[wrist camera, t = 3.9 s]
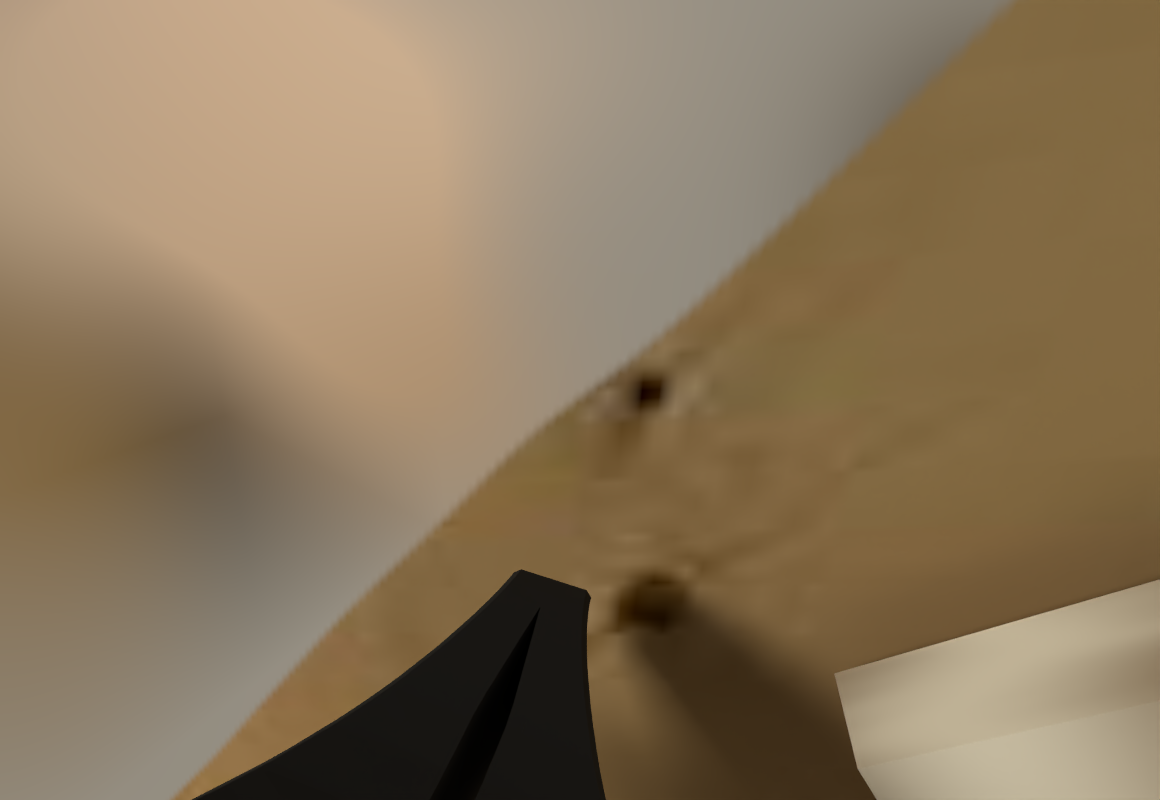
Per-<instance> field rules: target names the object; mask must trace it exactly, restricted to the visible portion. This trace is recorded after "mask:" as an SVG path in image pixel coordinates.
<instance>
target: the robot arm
mask: <svg viewBox="0 0 1160 800" xmlns="http://www.w3.org/2000/svg"><path fill="white" fill-rule="evenodd" d="M590 600H591V597H590V595H589V593H588V592H587V590H584V589H581V588H578V587H575V586H572V585H568V584H565V583H562V582H559V581H556V580H553V579H550V578H547V577H543V576H540V575H537V574H534V573H531V572H528V571H525V570H522V569H521V570H519V571H517V572H514V573H513V574H512V576H511V577H510V578H509V579H508V580H507V581H506V583H505V584H504V585H503V586H502V587H501V588H500V589H499V590H498V591H497V592H496V593H495V594H494V595H493V596H492V597H491V598H490V599H489V600H488V601H487V602H486V603H485V604H484V605H483V606H482V607H481V608H480V609H479V610H478V611H477V612H476V613H475V614H474V615H473V616H472V617H470V618H469V619H468V620H467V621H466V622H465V623H464V624H463V625H461V626H460V627H459V628H458V629H457V630H456V631H455V632H454V633H452V634H451V635H450V636H449V637H448V638H447V639H446V640H444V641H443V642H442V643H441V644H440V645H439V646H437V647H436V648H435V649H434V650H432V651H431V652H430V653H429V654H427V655H426V656H425V657H423V658H422V659H421V660H420V661H418V662H417V663H416V664H415V665H413V666H412V667H411V668H409V669H408V670H407V671H406V672H404V673H403V674H402V675H401V676H399V677H398V678H397V679H395V680H394V681H392V682H391V683H390V684H388V685H387V686H386V687H384V688H383V689H381V690H380V691H379V692H377V693H376V694H374V695H373V696H371V697H370V698H369V699H367V700H366V701H364V702H363V703H361V704H360V705H358V706H357V707H355V708H354V709H352V710H351V711H349V712H348V713H346V714H345V715H343V716H341V717H340V718H338V719H337V720H335V721H334V722H332V723H330V724H329V725H327V726H325V727H324V728H322V729H320V730H319V731H317V732H315V733H314V734H312V735H311V736H309V737H307V738H306V739H304V740H302V741H301V742H299V743H297V744H296V745H294V746H292V747H291V748H289V749H287V750H285V751H284V752H282V753H280V754H278V755H277V756H275V757H273V758H271V759H269V760H268V761H266V762H264V763H262V764H260V765H258V766H256V767H254V768H252V769H251V770H249V771H247V772H245V773H243V774H241V775H239V776H237V777H235V778H233V779H231V780H229V781H227V782H225V783H223V784H221V785H219V786H217V787H216V788H214V789H212V790H210V791H208V792H206V793H204V794H202V795H200V796H198V797H196V798H194V799H192V800H606V799H605V794H604V789H603V784H602V779H601V773H600V768H599V762H598V756H597V750H596V743H595V736H594V729H593V722H592V714H591V705H590V694H589V682H588V669H587V619H588V610H589V604H590Z"/></svg>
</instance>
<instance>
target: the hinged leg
mask: <svg viewBox="0 0 1160 800" xmlns="http://www.w3.org/2000/svg"><path fill="white" fill-rule="evenodd" d="M834 674H835V678H836V682H837V686H838V690H839V695H840V699H841V703H842V707H843V711H844V715H845V719H846V723H847V727H848V731H849V736H850V740H851V744H852V748H853V752H854V756H855V760H856V764H857V768H858V770H859V772H860V774H861V775H862V777H863V778H864V780H865V782H866V783H867V785H868V786H869V788H870V790H871V791H872V793H873V794H874V796H875V798H876V799H877V800H1160V580H1156V581H1153V582H1149V583H1146V584H1142V585H1139V586H1135V587H1132V588H1129V589H1125V590H1122V591H1118V592H1115V593H1111V594H1108V595H1104V596H1101V597H1097V598H1094V599H1090V600H1087V601H1084V602H1080V603H1077V604H1073V605H1070V606H1066V607H1063V608H1059V609H1056V610H1052V611H1049V612H1045V613H1042V614H1039V615H1035V616H1032V617H1028V618H1025V619H1021V620H1018V621H1014V622H1011V623H1007V624H1004V625H1000V626H997V627H994V628H990V629H987V630H983V631H980V632H976V633H973V634H969V635H966V636H962V637H959V638H956V639H952V640H949V641H945V642H942V643H938V644H935V645H931V646H928V647H924V648H921V649H917V650H914V651H911V652H907V653H904V654H900V655H897V656H893V657H890V658H886V659H883V660H879V661H876V662H872V663H869V664H866V665H862V666H859V667H855V668H852V669H848V670H845V671H841V672H838V673H834Z"/></svg>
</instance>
